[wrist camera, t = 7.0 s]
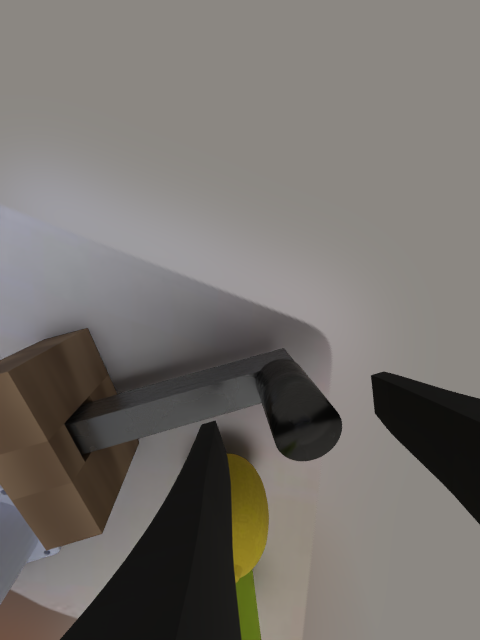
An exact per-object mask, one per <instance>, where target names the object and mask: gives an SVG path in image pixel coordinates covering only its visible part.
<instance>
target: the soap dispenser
mask: <svg viewBox="0 0 480 640" xmlns="http://www.w3.org/2000/svg"><path fill="white" fill-rule="evenodd" d="M236 592H237V602H238V611H239V621H240V630H241V639H242V640H261V634H260V626H259V618H258V611H257V603H256V595H255V587H254V579H253V571H252V570H251V571H250V572H249V573H247V574H246V575H245V576H243V577H241V578H239V580H238V582H237V583H236Z"/></svg>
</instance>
